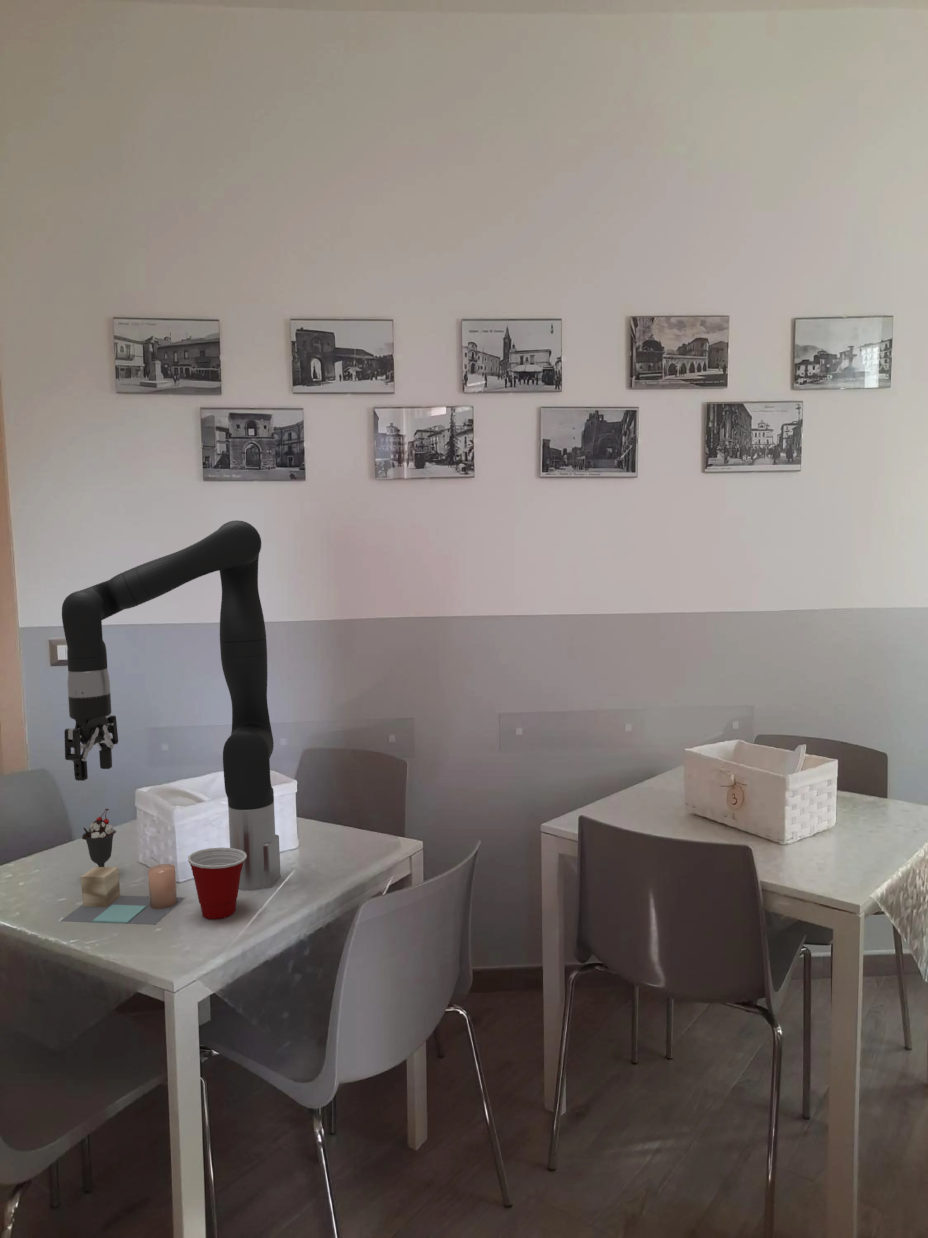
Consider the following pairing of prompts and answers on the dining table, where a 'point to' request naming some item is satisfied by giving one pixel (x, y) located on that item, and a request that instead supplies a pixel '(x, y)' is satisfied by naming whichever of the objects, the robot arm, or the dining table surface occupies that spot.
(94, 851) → the sundae
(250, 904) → the dining table surface
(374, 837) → the dining table surface
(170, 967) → the dining table surface
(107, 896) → the beech block
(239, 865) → the plastic cup
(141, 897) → the slate mat
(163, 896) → the terracotta cylinder
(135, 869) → the dining table surface
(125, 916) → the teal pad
